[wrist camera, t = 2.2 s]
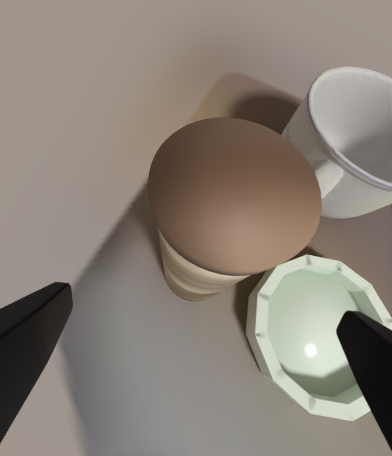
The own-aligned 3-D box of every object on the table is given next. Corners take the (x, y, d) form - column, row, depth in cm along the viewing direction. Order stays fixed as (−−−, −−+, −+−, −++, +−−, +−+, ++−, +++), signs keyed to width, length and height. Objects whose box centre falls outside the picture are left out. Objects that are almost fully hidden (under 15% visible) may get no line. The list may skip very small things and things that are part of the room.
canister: (234, 289, 18) (355, 236, 6) (174, 312, 17) (182, 300, 5) (212, 233, 19) (273, 106, 8) (155, 250, 18) (128, 133, 7)
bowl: (399, 370, 17) (427, 377, 15) (285, 435, 14) (302, 452, 13) (328, 247, 20) (344, 240, 18) (226, 285, 18) (232, 281, 16)
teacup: (314, 127, 25) (373, 50, 18) (387, 200, 23) (492, 144, 15) (216, 177, 21) (239, 104, 14) (289, 273, 19) (367, 245, 11)
